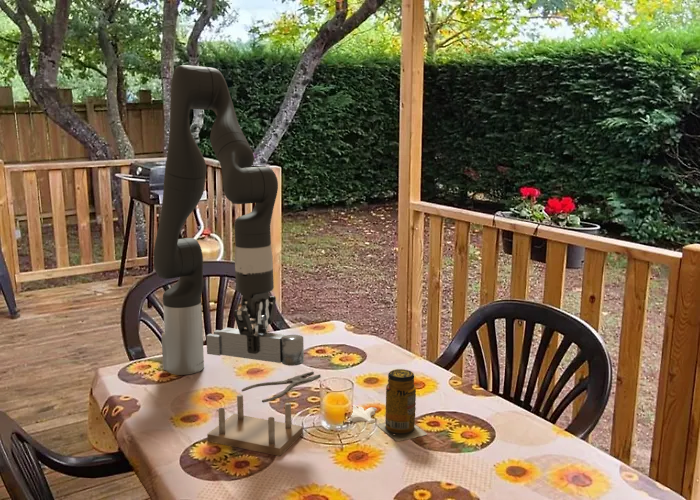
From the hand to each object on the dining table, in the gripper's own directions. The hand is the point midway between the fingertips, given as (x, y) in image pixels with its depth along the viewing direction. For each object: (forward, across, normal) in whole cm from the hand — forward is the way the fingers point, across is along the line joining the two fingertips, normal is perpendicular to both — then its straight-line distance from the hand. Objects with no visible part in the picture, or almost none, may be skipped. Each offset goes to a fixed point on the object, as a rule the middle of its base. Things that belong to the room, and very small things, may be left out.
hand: (257, 349), depth 139 cm
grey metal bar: (+2, 0, -1) cm, 2 cm away
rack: (+16, +6, +2) cm, 17 cm away
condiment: (+17, -8, +28) cm, 34 cm away
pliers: (+16, -20, -6) cm, 27 cm away
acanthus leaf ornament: (+17, -11, +18) cm, 27 cm away
